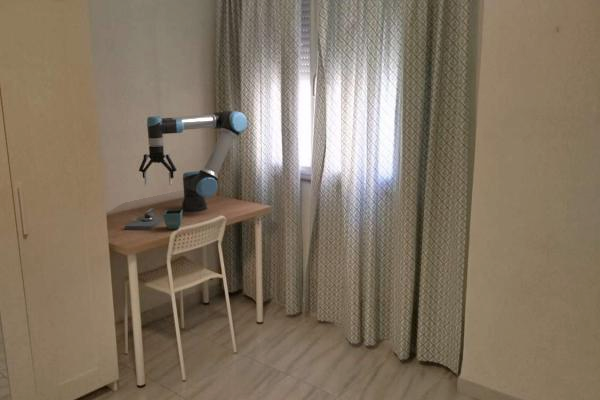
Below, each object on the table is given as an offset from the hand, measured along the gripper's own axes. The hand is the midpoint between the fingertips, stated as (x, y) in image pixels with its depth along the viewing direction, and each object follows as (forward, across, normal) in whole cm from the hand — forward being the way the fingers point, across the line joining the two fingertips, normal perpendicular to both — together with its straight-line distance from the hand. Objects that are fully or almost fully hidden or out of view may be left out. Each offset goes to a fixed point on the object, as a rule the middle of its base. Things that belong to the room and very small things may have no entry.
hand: (158, 184), depth 277 cm
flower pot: (+21, -12, +14) cm, 28 cm away
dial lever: (+19, +5, +3) cm, 20 cm away
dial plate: (+21, +6, +8) cm, 23 cm away
